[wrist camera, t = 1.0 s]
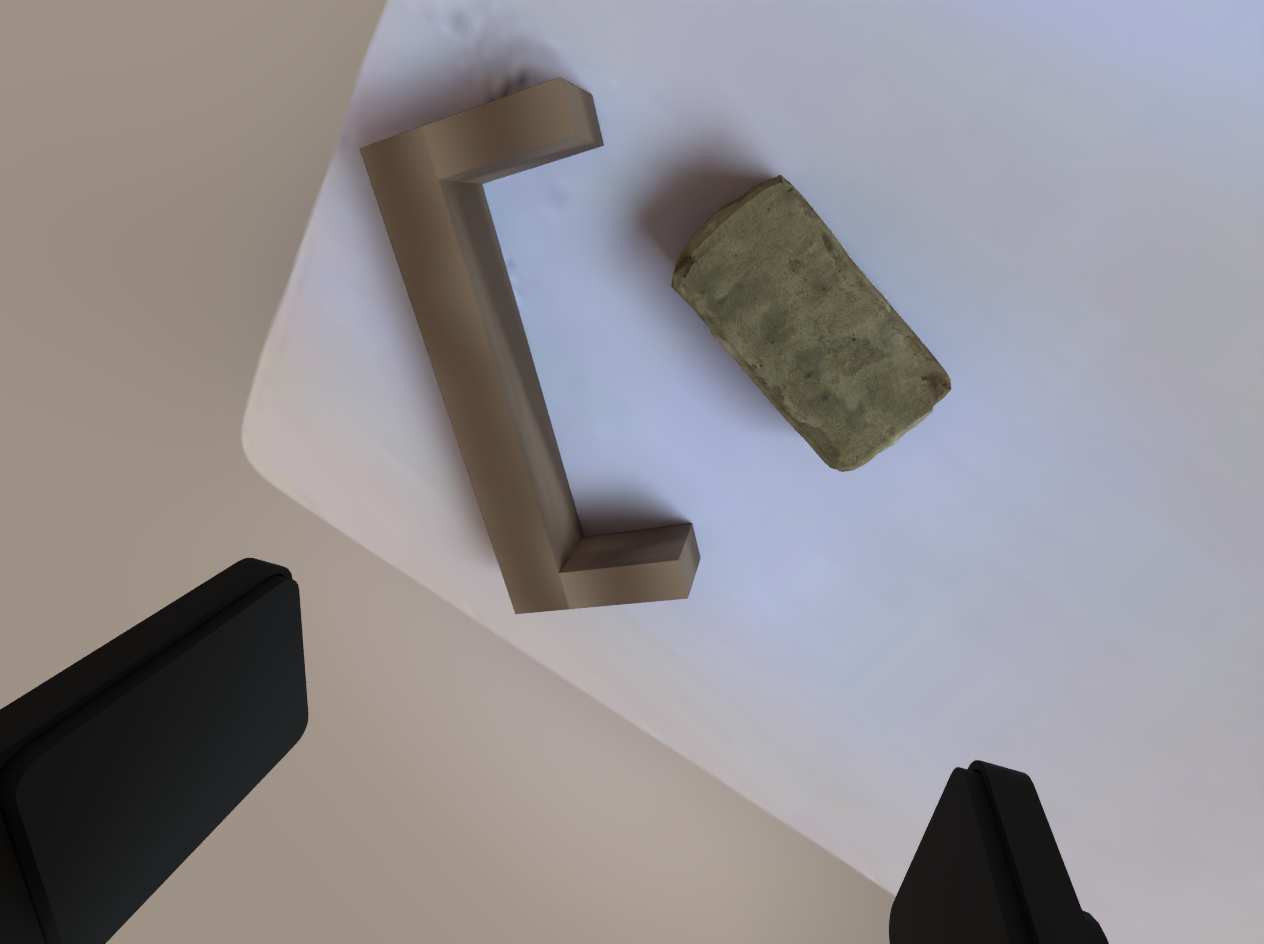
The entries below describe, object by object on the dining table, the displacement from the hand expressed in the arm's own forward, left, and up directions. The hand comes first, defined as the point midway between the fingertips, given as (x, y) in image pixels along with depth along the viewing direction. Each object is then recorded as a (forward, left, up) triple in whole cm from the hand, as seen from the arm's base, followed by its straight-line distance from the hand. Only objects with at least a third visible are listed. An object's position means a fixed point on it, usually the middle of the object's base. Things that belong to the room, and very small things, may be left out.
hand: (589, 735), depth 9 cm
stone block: (-3, -2, -24) cm, 24 cm away
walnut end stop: (+8, -2, -24) cm, 25 cm away
